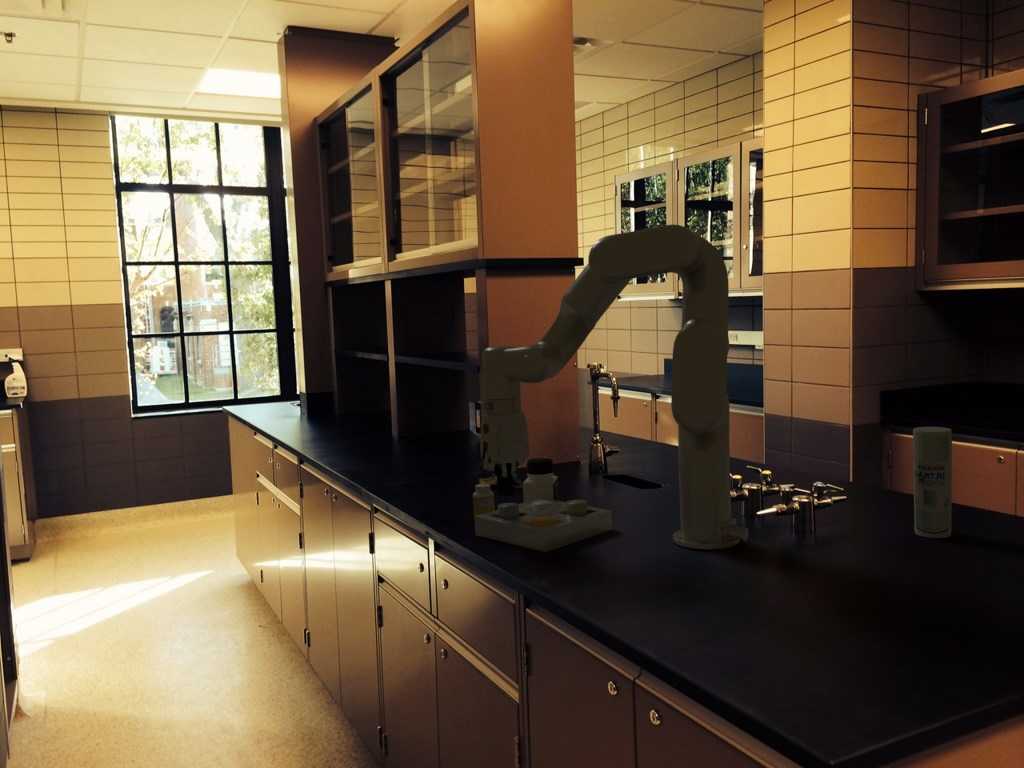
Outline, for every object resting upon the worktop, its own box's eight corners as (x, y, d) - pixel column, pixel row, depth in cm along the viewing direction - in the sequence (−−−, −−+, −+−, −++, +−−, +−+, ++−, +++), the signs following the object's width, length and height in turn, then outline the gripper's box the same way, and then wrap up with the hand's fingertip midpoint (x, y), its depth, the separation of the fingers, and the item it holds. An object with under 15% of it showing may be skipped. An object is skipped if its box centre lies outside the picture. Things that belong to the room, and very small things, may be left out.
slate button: (524, 523, 171) (523, 504, 170) (508, 528, 168) (507, 509, 167) (509, 520, 174) (508, 501, 173) (494, 525, 171) (493, 506, 170)
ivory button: (557, 520, 178) (556, 502, 177) (543, 524, 175) (542, 506, 174) (542, 517, 181) (541, 499, 180) (528, 521, 178) (527, 503, 177)
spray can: (953, 530, 157) (952, 427, 156) (951, 539, 152) (951, 432, 150) (915, 527, 161) (914, 426, 159) (912, 536, 155) (911, 431, 153)
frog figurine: (499, 493, 210) (493, 435, 210) (468, 489, 226) (462, 436, 226) (532, 487, 215) (525, 431, 215) (499, 484, 230) (493, 431, 230)
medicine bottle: (555, 513, 186) (552, 461, 185) (523, 513, 188) (521, 461, 187) (559, 505, 193) (557, 455, 192) (529, 505, 195) (527, 455, 194)
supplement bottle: (480, 519, 184) (478, 482, 183) (498, 520, 182) (496, 483, 181) (470, 524, 180) (468, 487, 179) (489, 526, 178) (487, 487, 177)
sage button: (592, 520, 170) (591, 501, 170) (578, 525, 167) (577, 505, 167) (576, 517, 173) (575, 498, 173) (562, 522, 170) (561, 503, 170)
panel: (612, 529, 170) (611, 510, 170) (545, 552, 157) (544, 531, 156) (542, 515, 185) (541, 497, 184) (475, 535, 171) (474, 516, 171)
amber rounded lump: (559, 538, 163) (558, 518, 163) (544, 543, 160) (543, 523, 160) (543, 535, 167) (542, 515, 166) (528, 539, 164) (527, 520, 163)
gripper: (487, 412, 161) (491, 504, 162) (541, 404, 171) (543, 491, 173) (462, 409, 166) (466, 499, 168) (515, 401, 176) (518, 486, 178)
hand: (505, 494), depth 170 cm, fingers closed
